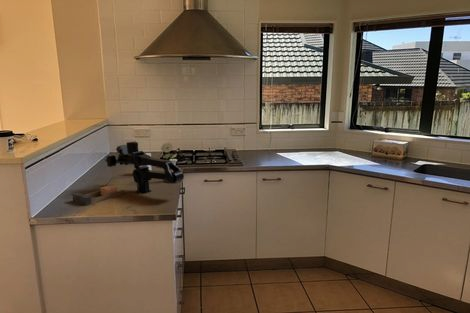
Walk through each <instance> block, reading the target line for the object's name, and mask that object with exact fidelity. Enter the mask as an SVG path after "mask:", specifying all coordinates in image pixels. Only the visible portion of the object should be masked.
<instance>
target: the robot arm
mask: <svg viewBox="0 0 470 313" xmlns="http://www.w3.org/2000/svg"><path fill="white" fill-rule="evenodd" d="M115 150H116V153H117V154H118V157H117V158H116V155H114V154H111V155H107V156H106V158H105V159H104V161H105V162H106V165H107V167H108V168H109V167H110V168H112V167H116V166H117V164H119V165H121V166H122V165H125V166H128V165H129V166H130V165H132V166H133V167H134V169H133V171H132V177H133V181H134V183H135V184H136V188H137V189H136V190H135V192H136V193H138V194H139V193H140V194H147V193H149V192H152V189H150V181H152V179H153V180H154V179H155V180H165V181H166V182H167V183H170V184H173V185H174V184H177V183H179V182H181V181H183V180H184V177H185V174H184V173H183V171H182V170H181V168H180V167H178V166H177V165H176V164H175V165H174V164H173V162H172V161H170V159H169V160H166V159H161V158H155V157H152V155H151V156H149V155H147V154H145V153H146V152H144V151H143V150H139V141H138V142H137V141H136V140H135V141H126V143H125V144H120V145H118V146H117V147H116V148H115ZM145 165H150V166H151V167H157V168H162V169H163V170H164V171H160V170H153V169H151V170H149V167H145ZM140 166H143V167H140ZM170 170H171V171H172V170H173V172H171V171H170Z"/></svg>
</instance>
